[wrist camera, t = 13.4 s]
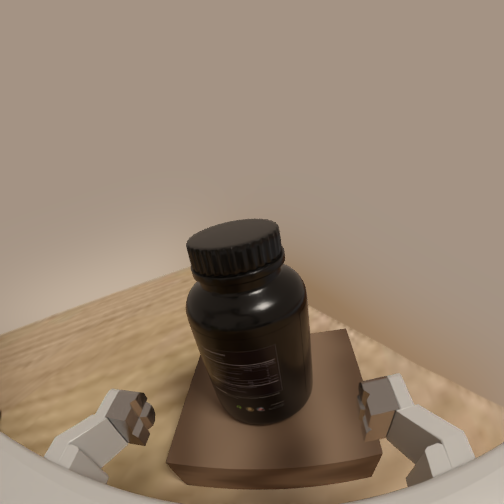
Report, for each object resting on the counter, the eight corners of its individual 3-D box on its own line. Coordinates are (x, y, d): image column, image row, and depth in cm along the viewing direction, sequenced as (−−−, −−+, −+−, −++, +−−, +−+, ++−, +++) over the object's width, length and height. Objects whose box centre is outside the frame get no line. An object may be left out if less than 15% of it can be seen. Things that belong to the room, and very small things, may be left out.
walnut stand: (186, 484, 14) (165, 462, 13) (214, 371, 26) (204, 342, 25) (371, 476, 13) (382, 453, 11) (344, 360, 25) (345, 328, 24)
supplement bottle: (232, 359, 22) (198, 219, 18) (315, 360, 21) (303, 208, 16) (206, 423, 16) (141, 261, 12) (309, 431, 14) (295, 250, 10)
